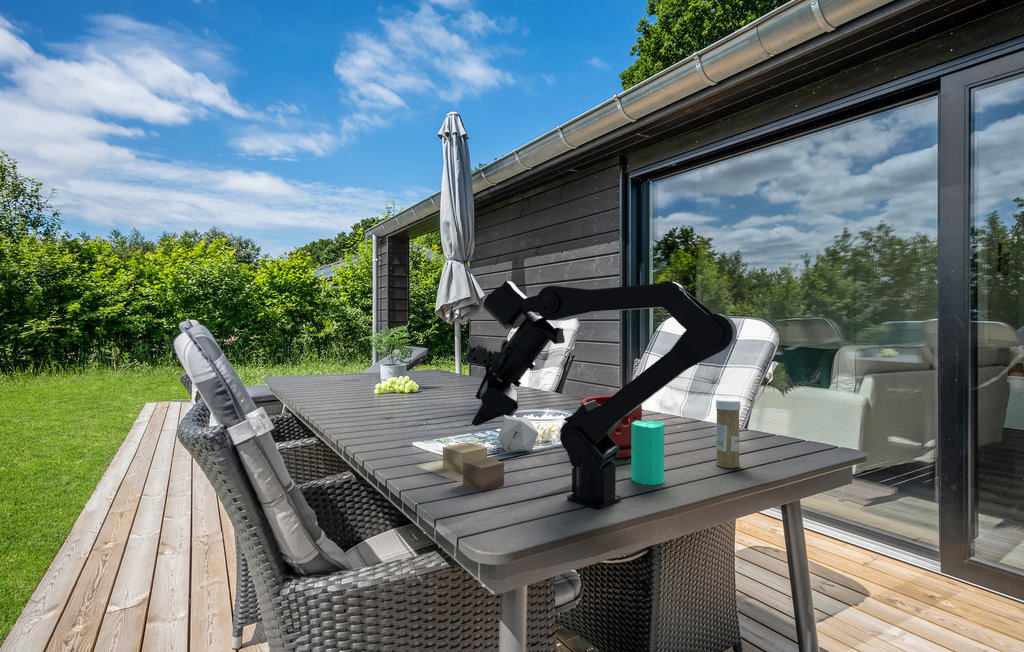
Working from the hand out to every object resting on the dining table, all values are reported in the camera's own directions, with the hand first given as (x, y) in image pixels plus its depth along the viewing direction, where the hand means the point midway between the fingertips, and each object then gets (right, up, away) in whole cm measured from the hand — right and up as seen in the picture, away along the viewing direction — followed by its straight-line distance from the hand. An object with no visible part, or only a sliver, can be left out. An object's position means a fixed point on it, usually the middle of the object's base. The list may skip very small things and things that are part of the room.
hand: (475, 410), depth 97 cm
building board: (-3, -13, +5) cm, 14 cm away
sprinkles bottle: (+50, -13, +10) cm, 53 cm away
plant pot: (+28, -13, +20) cm, 37 cm away
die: (+8, -13, +19) cm, 24 cm away
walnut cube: (+2, -13, -6) cm, 14 cm away
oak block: (-2, -12, +4) cm, 12 cm away
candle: (+32, -13, 0) cm, 34 cm away
